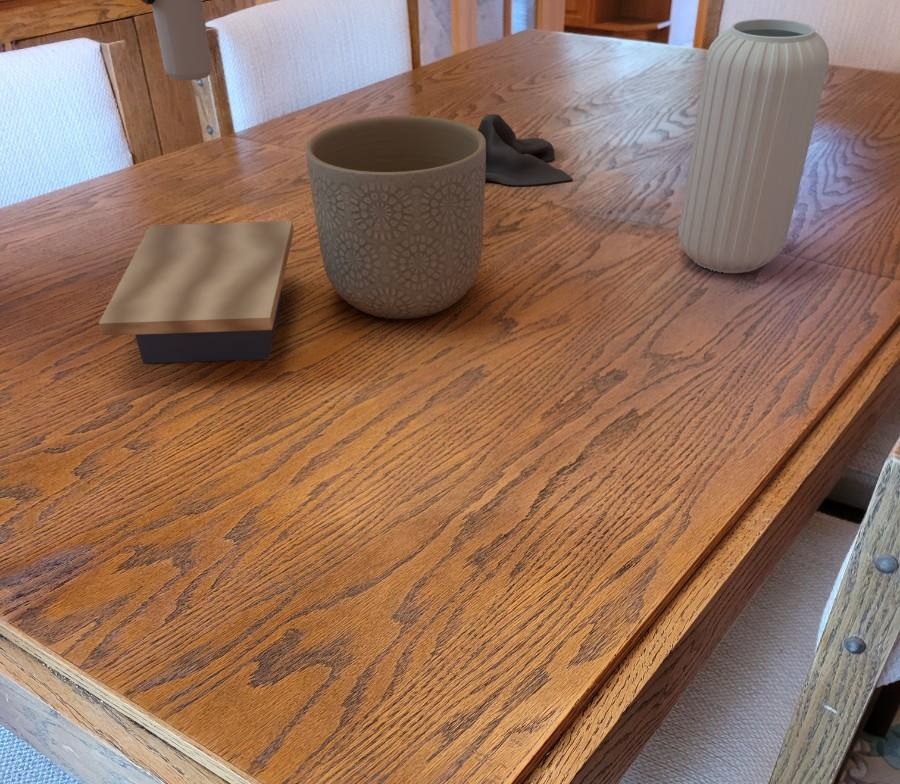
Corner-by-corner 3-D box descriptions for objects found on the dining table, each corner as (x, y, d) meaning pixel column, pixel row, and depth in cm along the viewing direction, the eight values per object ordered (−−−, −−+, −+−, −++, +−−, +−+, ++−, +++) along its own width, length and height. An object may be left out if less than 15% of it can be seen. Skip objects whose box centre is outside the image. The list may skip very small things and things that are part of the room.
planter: (515, 309, 92) (520, 150, 82) (367, 352, 87) (352, 186, 76) (435, 252, 103) (431, 105, 93) (299, 287, 97) (277, 133, 87)
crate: (143, 363, 86) (129, 314, 82) (170, 298, 96) (159, 251, 92) (269, 359, 86) (260, 309, 83) (283, 294, 96) (276, 247, 93)
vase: (653, 257, 101) (685, 27, 86) (717, 230, 106) (759, 9, 91) (737, 291, 95) (788, 49, 79) (801, 260, 100) (861, 27, 84)
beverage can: (199, 66, 94) (174, -76, 86) (222, 75, 92) (199, -71, 83) (157, 74, 92) (127, -71, 84) (180, 84, 89) (151, -65, 81)
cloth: (398, 180, 120) (396, 130, 116) (444, 137, 133) (443, 90, 129) (561, 196, 115) (564, 145, 111) (592, 150, 127) (596, 102, 123)
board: (102, 335, 79) (98, 323, 79) (152, 236, 95) (149, 225, 95) (272, 330, 80) (270, 317, 79) (294, 231, 96) (292, 220, 95)
